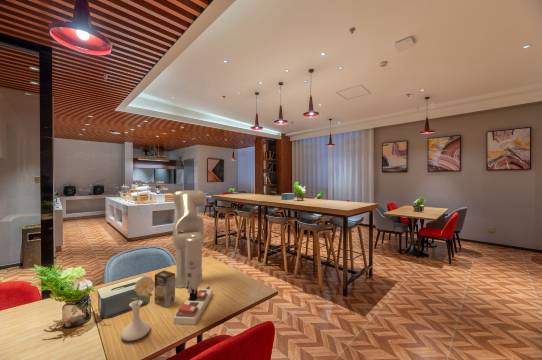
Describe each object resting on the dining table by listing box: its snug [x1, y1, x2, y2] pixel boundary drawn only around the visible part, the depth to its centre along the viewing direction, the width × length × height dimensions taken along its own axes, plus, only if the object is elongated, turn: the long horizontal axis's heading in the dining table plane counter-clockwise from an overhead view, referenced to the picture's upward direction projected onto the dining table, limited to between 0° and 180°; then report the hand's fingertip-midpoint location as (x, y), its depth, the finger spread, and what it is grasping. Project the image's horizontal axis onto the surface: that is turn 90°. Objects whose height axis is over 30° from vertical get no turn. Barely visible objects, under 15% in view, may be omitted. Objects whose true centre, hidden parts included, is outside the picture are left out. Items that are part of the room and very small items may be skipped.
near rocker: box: [178, 303, 197, 314], centre depth 114 cm, size 7×4×2 cm, turn 87°
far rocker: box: [197, 290, 206, 299], centre depth 128 cm, size 7×4×2 cm, turn 87°
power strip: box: [173, 285, 214, 326], centre depth 128 cm, size 10×36×4 cm, turn 177°
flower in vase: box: [120, 275, 155, 342], centre depth 103 cm, size 13×11×25 cm
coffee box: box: [154, 270, 176, 308], centre depth 128 cm, size 9×6×16 cm
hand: (193, 300), depth 114 cm, fingers closed
